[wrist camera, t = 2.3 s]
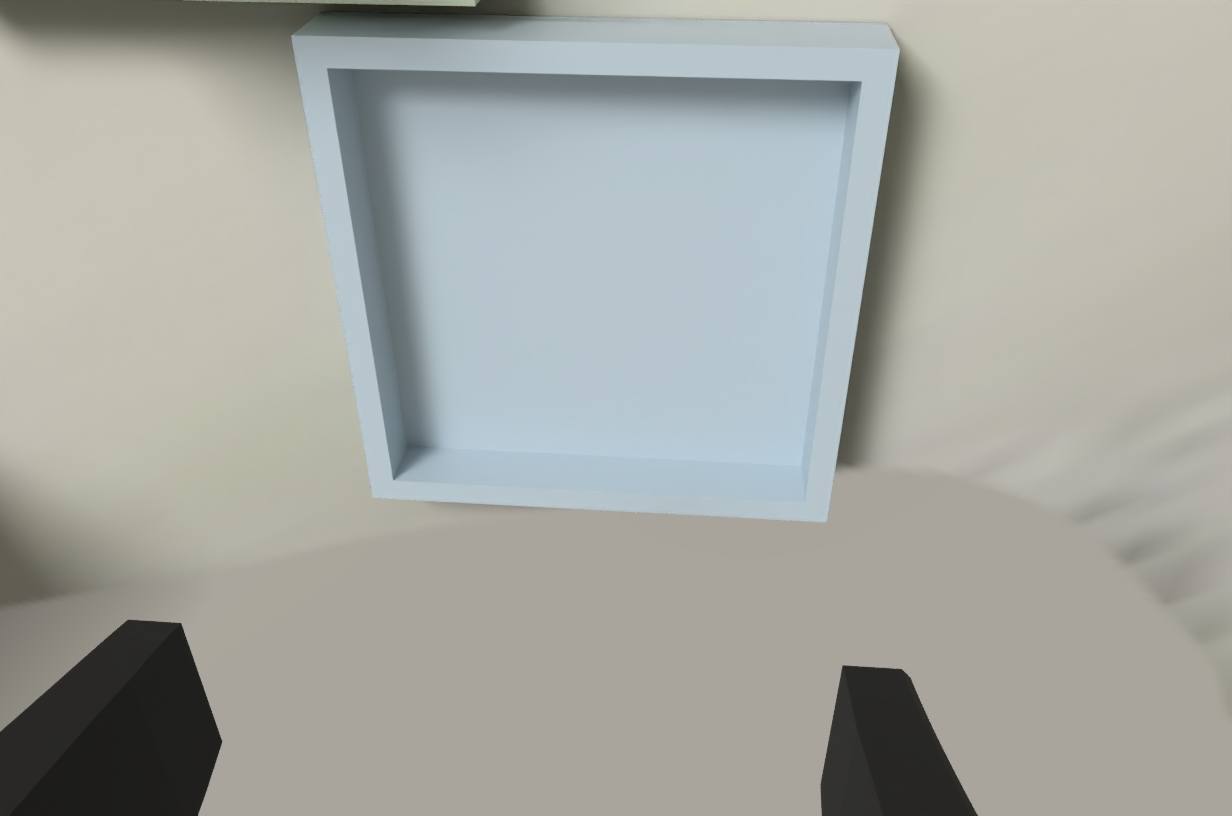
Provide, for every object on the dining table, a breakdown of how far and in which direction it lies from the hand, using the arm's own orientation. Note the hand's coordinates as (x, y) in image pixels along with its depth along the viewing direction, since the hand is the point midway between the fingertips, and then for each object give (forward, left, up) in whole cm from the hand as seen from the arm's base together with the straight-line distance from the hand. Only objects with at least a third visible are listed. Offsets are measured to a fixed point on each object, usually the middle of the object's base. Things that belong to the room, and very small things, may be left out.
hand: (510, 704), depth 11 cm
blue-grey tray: (0, 0, -10) cm, 10 cm away
